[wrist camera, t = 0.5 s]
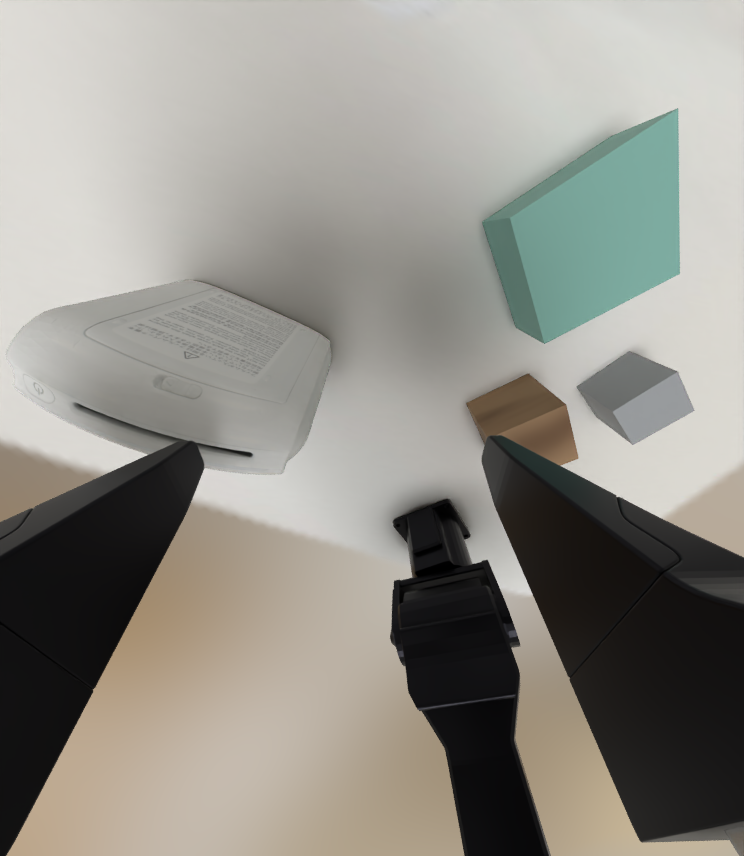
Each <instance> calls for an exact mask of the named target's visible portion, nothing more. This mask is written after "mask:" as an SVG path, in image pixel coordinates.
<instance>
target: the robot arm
mask: <svg viewBox="0 0 744 856" xmlns="http://www.w3.org/2000/svg"><path fill="white" fill-rule="evenodd" d="M482 465H483V468H484V472H485V475H486V478H487V482H488V485H489V489H490V492H491V495H492V499H493V502H494V505H495V507H496V510H497V512H498V515H499V517H500V519H501V522H502V524H503V526H504V529H505V531H506V533H507V536H508V538H509V540H510V543H511V545H512V547H513V550H514V552H515V554H516V557H517V559H518V561H519V563H520V566H521V568H522V570H523V573H524V575H525V577H526V580H527V582H528V584H529V587H530V589H531V591H532V594H533V596H534V598H535V601H536V603H537V605H538V608H539V610H540V612H541V614H542V617H543V619H544V621H545V624H546V626H547V628H548V631H549V633H550V635H551V637H552V640H553V642H554V645H555V647H556V649H557V651H558V654H559V656H560V658H561V661H562V663H563V665H564V668H565V670H566V672H567V675H568V676H569V677H570V682H571V684H572V687H573V689H574V691H575V694H576V696H577V698H578V701H579V703H580V705H581V708H582V710H583V712H584V715H585V717H586V719H587V722H588V724H589V726H590V729H591V731H592V733H593V736H594V738H595V740H596V742H597V745H598V747H599V749H600V752H601V754H602V756H603V759H604V761H605V763H606V766H607V768H608V770H609V772H610V775H611V777H612V780H613V782H614V784H615V786H616V789H617V791H618V793H619V796H620V798H621V800H622V803H623V805H624V807H625V810H626V812H627V814H628V817H629V819H630V821H631V823H632V826H633V828H634V830H635V832H636V834H637V836H638V838H639V840H640V841H641V842H672V841H705V840H707V841H708V840H730V841H731V843H732V844H733V846H734V848H735V849H736V851H737V853H738V854H739V856H744V557H742V556H739V555H737V554H735V553H733V552H731V551H729V550H727V549H725V548H722V547H720V546H718V545H716V544H714V543H712V542H710V541H707V540H705V539H703V538H701V537H699V536H697V535H695V534H692V533H690V532H688V531H686V530H684V529H682V528H680V527H678V526H675V525H674V524H672V523H669V522H667V521H665V520H663V519H661V518H659V517H657V516H655V515H653V514H651V513H649V512H647V511H645V510H643V509H641V508H640V507H638V506H636V505H634V504H632V503H630V502H628V501H626V500H624V499H622V498H620V497H616V495H615V494H613V493H611V492H609V491H607V490H605V489H603V488H601V487H599V486H598V485H596V484H594V483H592V482H590V481H588V480H586V479H584V478H582V477H580V476H578V475H577V474H575V473H573V472H571V471H569V470H567V469H565V468H563V467H561V466H559V465H558V464H556V463H554V462H552V461H550V460H548V459H546V458H544V457H542V456H540V455H539V454H537V453H535V452H533V451H531V450H529V449H527V448H525V447H523V446H521V445H520V444H518V443H516V442H514V441H512V440H510V439H508V438H506V437H504V436H502V435H490V436H488V437H487V439H486V442H485V446H484V450H483V455H482ZM203 470H204V461H203V458H202V456H201V453H200V451H199V448H198V446H197V444H196V443H195V442H194V441H178V442H176V443H174V444H171V445H169V446H167V447H165V448H163V449H160V450H158V451H156V452H154V453H152V454H149V455H147V456H145V457H143V458H140V459H138V460H136V461H134V462H132V463H129V464H127V465H125V466H123V467H121V468H118V469H116V470H114V471H112V472H110V473H107V474H105V475H103V476H101V477H99V478H96V479H94V480H92V481H90V482H88V483H85V484H83V485H81V486H79V487H77V488H74V489H72V490H70V491H68V492H66V493H64V494H61V495H59V496H57V497H55V498H52V499H50V500H48V501H46V502H44V503H42V504H39V505H37V506H35V507H34V509H33V508H31V509H28V510H26V511H24V512H21V513H19V514H17V515H15V516H13V517H10V518H8V519H6V520H4V521H2V522H0V856H6V855H7V853H8V852H9V850H10V849H11V847H12V845H13V843H14V842H15V840H16V838H17V836H18V834H19V832H20V830H21V829H22V827H23V825H24V823H25V821H26V819H27V817H28V815H29V813H30V811H31V810H32V808H33V806H34V804H35V802H36V800H37V798H38V796H39V794H40V792H41V790H42V789H43V786H44V785H45V782H46V781H47V779H48V777H49V775H50V773H51V771H52V769H53V767H54V766H55V764H56V762H57V760H58V758H59V756H60V754H61V752H62V750H63V748H64V746H65V745H66V743H67V741H68V739H69V736H70V735H71V733H72V731H73V729H74V727H75V725H76V724H77V721H78V719H79V718H80V716H81V714H82V712H83V710H84V708H85V706H86V704H87V703H88V701H89V699H90V697H91V695H92V693H93V690H92V689H94V688H95V687H96V685H97V683H98V681H99V679H100V677H101V675H102V673H103V671H104V670H105V668H106V666H107V664H108V662H109V660H110V658H111V656H112V654H113V652H114V651H115V649H116V647H117V645H118V643H119V641H120V639H121V637H122V635H123V633H124V631H125V630H126V628H127V626H128V624H129V622H130V620H131V618H132V616H133V614H134V612H135V610H136V609H137V607H138V605H139V603H140V601H141V599H142V597H143V595H144V593H145V591H146V589H147V588H148V586H149V584H150V582H151V580H152V578H153V576H154V574H155V572H156V570H157V568H158V566H159V565H160V563H161V561H162V559H163V557H164V555H165V553H166V551H167V549H168V548H169V546H170V544H171V542H172V540H173V538H174V536H175V534H176V532H177V530H178V528H179V526H180V525H181V523H182V521H183V519H184V517H185V515H186V512H187V510H188V508H189V506H190V503H191V501H192V498H193V496H194V493H195V491H196V488H197V486H198V483H199V480H200V478H201V475H202V473H203ZM393 526H394V528H395V529H396V530H397V531H398V532H399V534H400V535H401V536H402V537H403V538H404V540H405V541H406V542H407V543H408V550H409V557H410V564H411V570H412V577H413V578H409V579H405V580H396V581H394V590H393V600H392V629H391V635H390V639H391V642H392V644H393V645H394V646H395V647H396V649H397V652H398V656H399V659H400V661H401V663H402V665H404V666H406V673H407V684H408V691H409V694H410V696H411V698H412V700H413V702H414V703H415V705H416V707H417V709H418V710H419V711H422V712H423V714H424V715H425V717H426V719H427V720H428V722H429V723H430V725H431V727H432V728H433V730H434V732H435V733H436V735H437V736H438V738H439V740H440V741H441V743H442V744H443V746H444V748H445V751H446V756H447V761H448V767H449V772H450V778H451V783H452V788H453V794H454V800H455V805H456V811H457V816H458V822H459V827H460V832H461V838H462V844H463V849H464V855H465V856H551V855H550V852H549V848H548V845H547V842H546V839H545V835H544V832H543V829H542V826H541V822H540V819H539V816H538V812H537V809H536V806H535V803H534V799H533V796H532V793H531V790H530V787H529V783H528V780H527V777H526V773H525V770H524V767H523V763H522V760H521V757H520V754H519V750H518V747H517V744H516V740H515V734H516V722H517V711H518V702H519V690H520V673H519V669H518V666H517V663H516V660H515V658H514V655H513V652H512V649H511V647H519V646H520V642H519V639H518V636H517V633H516V630H515V627H514V624H513V621H512V619H511V616H510V613H509V610H508V608H507V605H506V603H505V600H504V598H503V595H502V593H501V591H500V588H499V586H498V583H497V581H496V579H495V576H494V574H493V572H492V569H491V567H490V564H489V562H488V560H484V561H482V562H480V563H476V564H472V562H471V559H470V556H469V553H468V550H467V547H466V544H465V541H464V539H467V538H469V537H470V532H469V530H468V529H467V527H466V526H465V524H464V522H463V521H462V519H461V517H460V516H459V514H458V513H457V511H456V509H455V508H454V506H453V505H452V503H451V501H450V500H444V501H441V502H439V503H436V504H434V505H431V506H429V507H426V508H423V509H421V510H418V511H416V512H413V513H411V514H408V515H406V516H403V517H401V518H398V519H396V520H394V521H393Z"/></svg>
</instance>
